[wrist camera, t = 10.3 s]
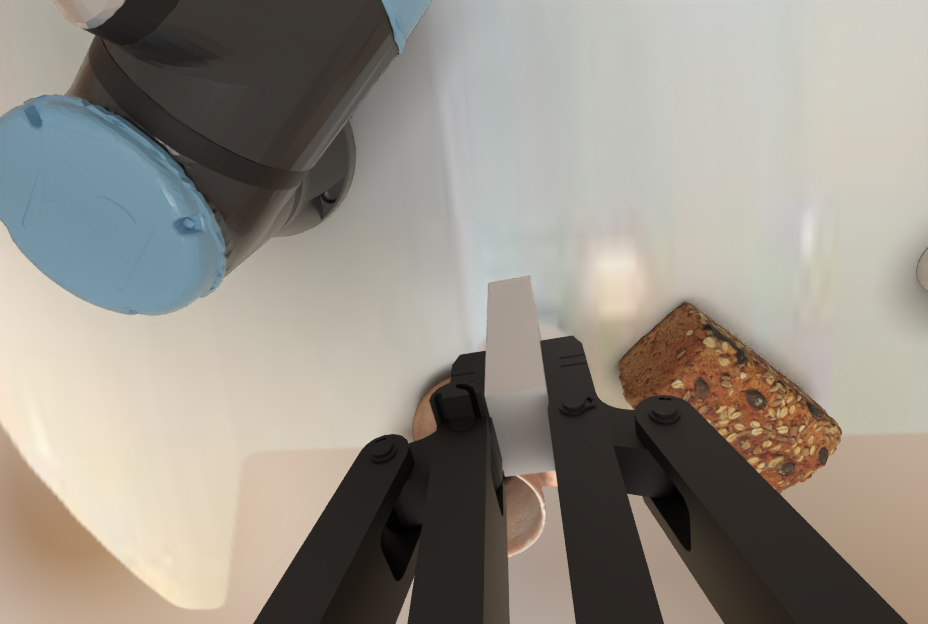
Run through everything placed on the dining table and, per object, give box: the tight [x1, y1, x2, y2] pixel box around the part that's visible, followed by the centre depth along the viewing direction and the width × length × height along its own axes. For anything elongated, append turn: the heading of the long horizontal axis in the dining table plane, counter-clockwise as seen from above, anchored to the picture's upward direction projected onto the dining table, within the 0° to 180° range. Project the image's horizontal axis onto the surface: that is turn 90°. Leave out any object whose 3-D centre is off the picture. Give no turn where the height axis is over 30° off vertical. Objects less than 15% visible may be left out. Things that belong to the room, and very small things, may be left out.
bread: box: [619, 303, 842, 494], centre depth 49 cm, size 19×11×10 cm, turn 53°
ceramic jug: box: [413, 377, 558, 558], centre depth 51 cm, size 18×14×14 cm
